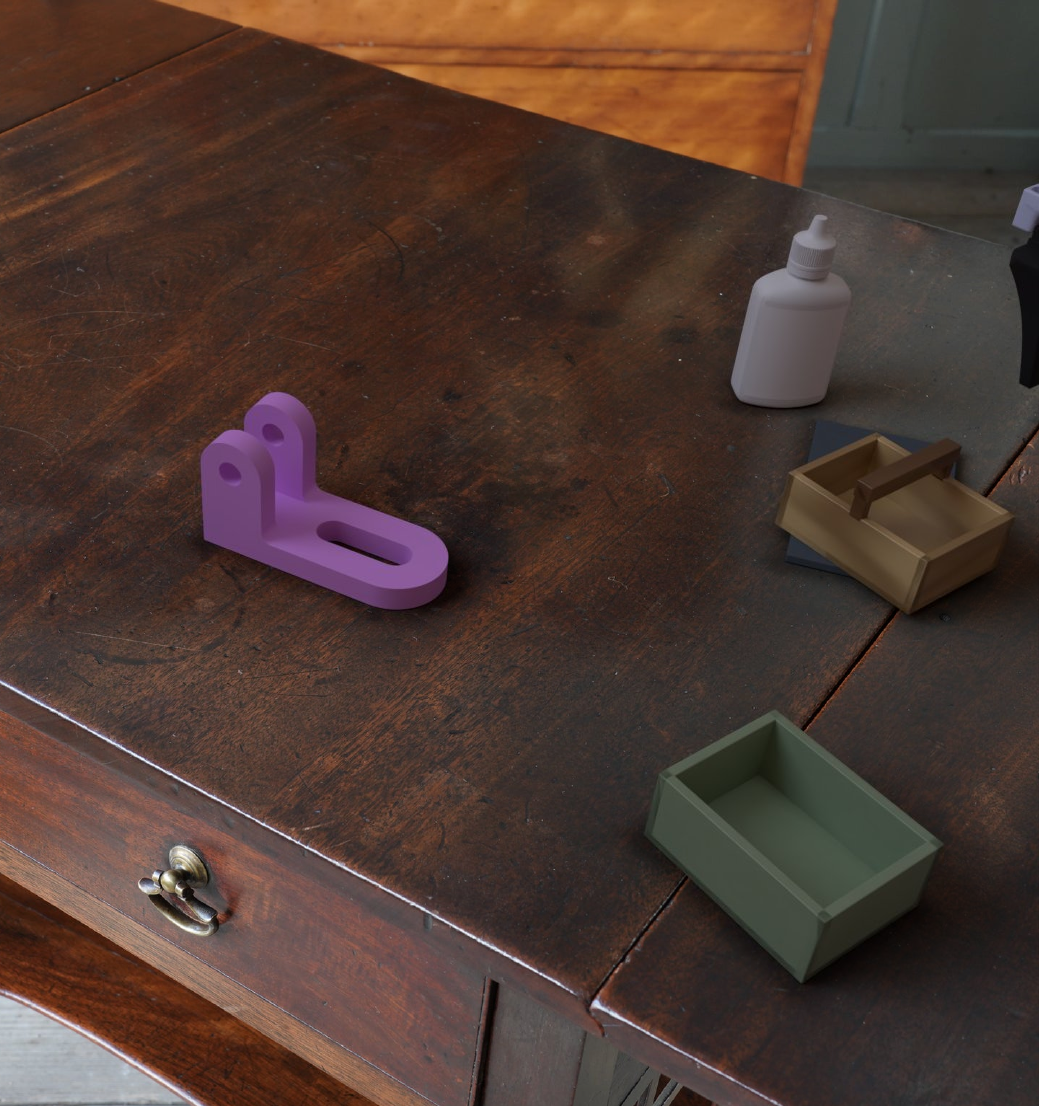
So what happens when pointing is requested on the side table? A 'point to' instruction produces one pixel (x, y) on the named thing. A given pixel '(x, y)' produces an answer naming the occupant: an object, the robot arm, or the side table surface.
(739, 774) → the box
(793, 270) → the eye dropper bottle
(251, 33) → the side table surface
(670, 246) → the side table surface
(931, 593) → the top basket
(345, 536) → the bracket
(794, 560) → the mat
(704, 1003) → the side table surface
